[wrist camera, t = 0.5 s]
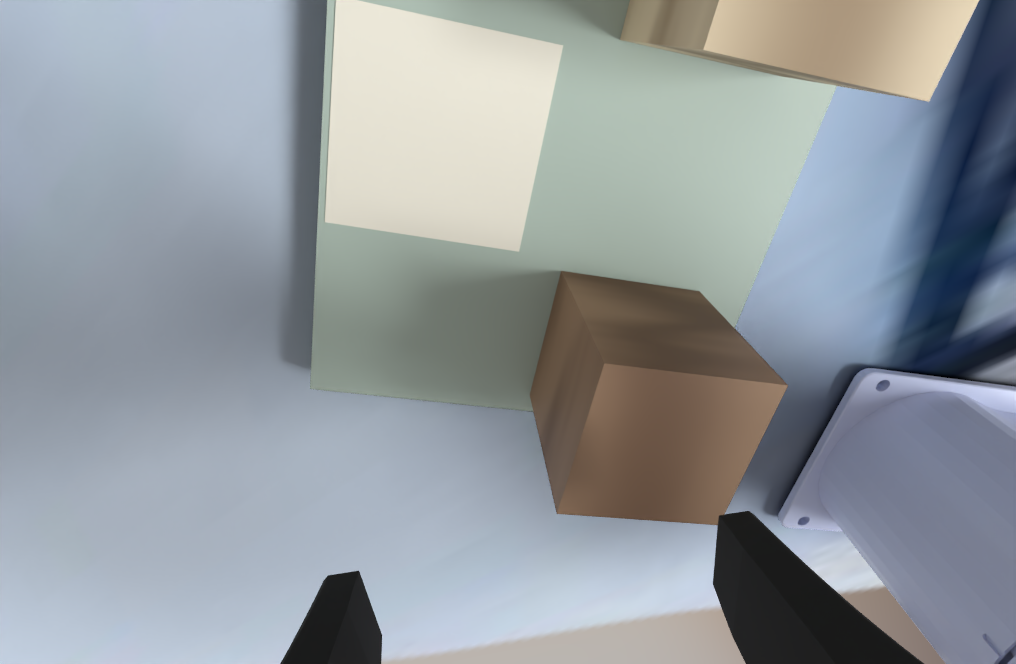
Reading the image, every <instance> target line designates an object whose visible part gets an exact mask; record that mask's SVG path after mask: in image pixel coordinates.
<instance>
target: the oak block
mask: <svg viewBox="0 0 1016 664" xmlns="http://www.w3.org/2000/svg"><path fill="white" fill-rule="evenodd" d="M978 2H979V0H630V2H629V6H628V9H627V13H626V17H625V21H624V25H623V29H622V33H621V37H620V40H622V41H627V42H631V43H636V44H640V45H645V46H649V47H653V48H658V49H662V50H667V51H671V52H676V53H680V54H684V55H689V56H693V57H698V58H702V59H707V60H711V61H715V62H720V63H724V64H729V65H733V66H738V67H742V68H746V69H751V70H755V71H760V72H764V73H769V74H773V75H777V76H782V77H788V78H794V79H800V80H806V81H811V82H817V83H823V84H829V85H835V86H841V87H847V88H852V89H858V90H864V91H870V92H876V93H882V94H888V95H894V96H899V97H905V98H911V99H917V100H923V101H929V100H930V98H931V96H932V94H933V92H934V90H935V88H936V86H937V84H938V82H939V80H940V78H941V76H942V74H943V72H944V70H945V68H946V66H947V64H948V62H949V60H950V58H951V56H952V54H953V52H954V50H955V48H956V46H957V44H958V42H959V40H960V38H961V36H962V34H963V32H964V30H965V28H966V26H967V24H968V22H969V20H970V18H971V16H972V14H973V12H974V10H975V8H976V6H977V4H978Z"/></svg>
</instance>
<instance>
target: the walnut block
mask: <svg viewBox="0 0 1016 664" xmlns="http://www.w3.org/2000/svg"><path fill="white" fill-rule="evenodd" d="M787 387H788V385H787V384H786V383H785V382H784V381H783V379H782V378H781V377H780V376H779V375H778V374H777V373H776V372H775V371H774V370H773V369H772V368H771V367H770V366H769V365H768V364H767V362H766V361H765V360H764V359H763V358H762V357H761V356H760V355H759V354H758V353H757V352H756V351H755V350H754V349H753V348H752V347H751V345H750V344H749V343H748V342H747V341H746V340H745V339H744V338H743V337H742V336H741V335H740V334H739V333H738V332H737V331H736V329H735V328H734V327H733V326H732V325H731V324H730V323H729V322H728V321H727V320H726V319H725V318H724V317H723V316H722V315H721V314H720V312H719V311H718V310H717V309H716V308H715V307H714V306H713V305H712V304H711V303H710V302H709V301H708V300H707V299H706V298H705V297H704V295H703V294H702V293H701V292H700V291H694V290H687V289H681V288H674V287H667V286H660V285H654V284H647V283H640V282H633V281H627V280H620V279H613V278H606V277H600V276H593V275H586V274H579V273H573V272H566V271H561V273H560V277H559V281H558V285H557V289H556V293H555V297H554V301H553V305H552V309H551V313H550V317H549V321H548V324H547V328H546V332H545V336H544V340H543V344H542V348H541V352H540V356H539V360H538V364H537V368H536V372H535V376H534V380H533V384H532V387H531V391H530V399H531V403H532V407H533V412H534V416H535V420H536V425H537V429H538V433H539V438H540V442H541V447H542V451H543V455H544V460H545V464H546V468H547V473H548V477H549V481H550V486H551V490H552V495H553V499H554V503H555V508H556V512H557V514H568V515H582V516H596V517H610V518H625V519H639V520H653V521H667V522H681V523H695V524H710V525H718V518H719V515H724V514H725V512H726V510H727V508H728V506H729V504H730V502H731V500H732V498H733V496H734V494H735V492H736V490H737V488H738V486H739V484H740V481H741V479H742V477H743V475H744V473H745V471H746V469H747V467H748V465H749V463H750V461H751V459H752V457H753V455H754V453H755V451H756V449H757V447H758V445H759V443H760V441H761V439H762V437H763V435H764V433H765V431H766V429H767V427H768V425H769V423H770V421H771V419H772V417H773V415H774V413H775V411H776V409H777V407H778V405H779V403H780V401H781V399H782V397H783V395H784V393H785V391H786V389H787Z"/></svg>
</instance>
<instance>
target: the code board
mask: <svg viewBox="0 0 1016 664" xmlns="http://www.w3.org/2000/svg"><path fill="white" fill-rule="evenodd" d="M629 2H630V0H327V18H326V41H325V63H324V86H323V108H322V131H321V153H320V176H319V198H318V221H317V243H316V266H315V288H314V311H313V334H312V356H311V379H310V389H316V390H325V391H335V392H345V393H355V394H365V395H374V396H384V397H394V398H404V399H414V400H423V401H433V402H443V403H453V404H462V405H472V406H482V407H492V408H502V409H511V410H521V411H531V412H533V407H532V403H531V399H530V391H531V387H532V384H533V380H534V376H535V372H536V368H537V364H538V360H539V356H540V352H541V348H542V344H543V340H544V336H545V332H546V328H547V324H548V321H549V317H550V313H551V309H552V305H553V301H554V297H555V293H556V289H557V285H558V281H559V277H560V273H561V271H566V272H573V273H579V274H586V275H593V276H600V277H606V278H613V279H620V280H627V281H633V282H640V283H647V284H654V285H660V286H667V287H674V288H681V289H687V290H694V291H700V292H701V293H702V294H703V295H704V297H705V298H706V299H707V300H708V301H709V302H710V303H711V304H712V305H713V306H714V307H715V308H716V309H717V310H718V311H719V312H720V314H721V315H722V316H723V317H724V318H725V319H726V320H727V321H728V322H729V323H730V324H731V325H732V326H733V327H734V328H735V326H736V324H737V321H738V319H739V317H740V314H741V312H742V309H743V307H744V305H745V302H746V300H747V298H748V295H749V293H750V291H751V288H752V286H753V283H754V281H755V279H756V276H757V274H758V272H759V269H760V267H761V264H762V262H763V260H764V257H765V255H766V253H767V250H768V248H769V246H770V243H771V241H772V238H773V236H774V234H775V231H776V229H777V227H778V224H779V222H780V220H781V217H782V215H783V212H784V210H785V208H786V205H787V203H788V201H789V198H790V196H791V193H792V191H793V189H794V186H795V184H796V182H797V179H798V177H799V175H800V172H801V170H802V167H803V165H804V163H805V160H806V158H807V156H808V153H809V151H810V149H811V146H812V144H813V141H814V139H815V137H816V134H817V132H818V130H819V127H820V125H821V122H822V120H823V118H824V115H825V113H826V111H827V108H828V106H829V104H830V101H831V99H832V96H833V94H834V92H835V89H836V87H837V86H835V85H829V84H823V83H817V82H811V81H806V80H800V79H794V78H788V77H782V76H777V75H773V74H769V73H764V72H760V71H755V70H751V69H746V68H742V67H738V66H733V65H729V64H724V63H720V62H715V61H711V60H707V59H702V58H698V57H693V56H689V55H684V54H680V53H676V52H671V51H667V50H662V49H658V48H653V47H649V46H645V45H640V44H636V43H631V42H627V41H622V40H620V37H621V33H622V29H623V25H624V21H625V17H626V13H627V9H628V6H629Z"/></svg>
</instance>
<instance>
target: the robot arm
mask: <svg viewBox="0 0 1016 664" xmlns="http://www.w3.org/2000/svg"><path fill="white" fill-rule="evenodd" d="M880 381H881V383H880V384H878V383H879V382H880ZM877 384H878V385H877ZM778 520H779V521H780V523H781V524H782V525H783V526H784V527H787V528H798V529H812V530H826V531H840V532H844V534H845V535H846V536H847V537H848V539H849V540H850V541H851V543H852V544H853V545H854V546H855V548H856V549H857V550H858V551H859V553H860V554H861V555H862V557H863V558H864V559H865V560H866V562H867V563H868V564H869V566H870V567H871V568H872V569H873V571H874V572H875V573H876V575H877V576H878V577H879V578H880V580H881V581H882V582H883V584H884V585H885V586H886V587H887V589H888V590H889V591H890V592H891V594H892V595H893V596H894V598H895V599H896V600H897V601H898V603H899V604H900V605H901V606H902V608H903V609H904V610H905V611H906V613H907V614H908V616H909V617H910V618H911V619H912V621H913V622H914V623H915V625H916V626H917V627H918V628H919V630H920V631H921V632H922V634H923V635H924V636H925V637H926V639H927V640H928V641H929V642H930V644H931V645H932V646H933V648H934V649H935V650H936V652H937V653H938V654H939V655H940V657H941V658H942V659H943V661H944V662H945V663H946V664H1016V387H1014V386H1006V385H998V384H991V383H983V382H975V381H968V380H960V379H952V378H944V377H937V376H929V375H921V374H914V373H906V372H898V371H891V370H883V369H875V368H866V369H864V370H861V371H860V372H858V373H857V374H856V376H855V377H854V379H853V380H852V382H851V384H850V386H849V388H848V389H847V391H846V393H845V395H844V397H843V398H842V400H841V402H840V404H839V406H838V407H837V409H836V411H835V413H834V415H833V416H832V418H831V420H830V422H829V424H828V425H827V427H826V429H825V431H824V433H823V434H822V436H821V438H820V440H819V442H818V443H817V445H816V447H815V449H814V451H813V453H812V454H811V456H810V458H809V460H808V462H807V463H806V465H805V467H804V469H803V471H802V472H801V474H800V476H799V478H798V480H797V481H796V483H795V485H794V487H793V489H792V490H791V492H790V494H789V496H788V498H787V499H786V501H785V503H784V505H783V507H782V508H781V510H780V512H779V514H778ZM713 585H714V588H715V591H716V593H717V596H718V599H719V602H720V604H721V607H722V610H723V612H724V615H725V618H726V620H727V623H728V626H729V628H730V631H731V633H732V636H733V638H734V640H735V642H736V644H737V646H738V648H739V650H740V653H741V655H742V656H743V659H744V660H745V663H746V664H924V663H922V662H921V661H920V660H919V659H917V658H916V657H915V656H913V655H912V654H911V653H910V652H908V651H907V650H905V649H904V648H903V647H902V646H900V645H899V644H898V643H897V642H896V641H894V640H893V639H892V638H891V637H889V636H888V635H887V634H886V633H884V632H883V631H882V630H881V629H880V628H878V627H877V626H876V625H875V624H873V623H872V622H871V621H870V620H869V619H867V618H866V617H865V616H864V615H862V613H860V612H859V611H858V610H856V609H855V608H854V607H853V606H852V605H851V604H850V603H849V602H848V601H846V600H845V599H844V598H843V597H842V596H841V595H840V594H838V593H837V592H836V591H835V590H834V589H833V588H832V587H830V586H829V585H828V584H827V583H826V582H825V581H824V580H823V579H821V578H820V577H819V576H818V575H817V574H816V573H815V572H814V571H813V570H811V569H810V568H809V567H808V566H807V565H806V564H805V563H804V562H803V561H802V560H801V559H800V558H799V557H798V556H796V555H795V554H794V553H793V552H792V551H791V550H790V549H789V548H788V547H787V546H786V545H785V544H784V543H783V542H782V541H781V540H780V539H778V538H777V537H776V536H775V535H774V534H773V533H772V532H771V531H770V530H769V529H768V528H767V527H766V526H765V525H764V524H763V523H762V522H761V521H760V520H759V519H758V518H757V517H756V516H755V515H754V514H752V513H751V512H750V511H745V512H739V513H732V514H726V515H719V518H718V530H717V542H716V554H715V566H714V578H713ZM381 651H382V634H381V631H380V628H379V626H378V623H377V620H376V617H375V614H374V612H373V609H372V606H371V603H370V600H369V598H368V595H367V592H366V589H365V586H364V584H363V581H362V578H361V575H360V572H359V571H355V572H348V573H342V574H335V575H329V576H327V577H326V579H325V580H324V581H323V583H322V585H321V587H320V589H319V591H318V594H317V596H316V598H315V600H314V602H313V603H312V605H311V607H310V609H309V611H308V613H307V615H306V617H305V619H304V621H303V623H302V625H301V627H300V629H299V631H298V633H297V634H296V636H295V638H294V640H293V642H292V644H291V646H290V648H289V649H288V651H287V653H286V655H285V657H284V658H283V660H282V662H281V664H381Z"/></svg>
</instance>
